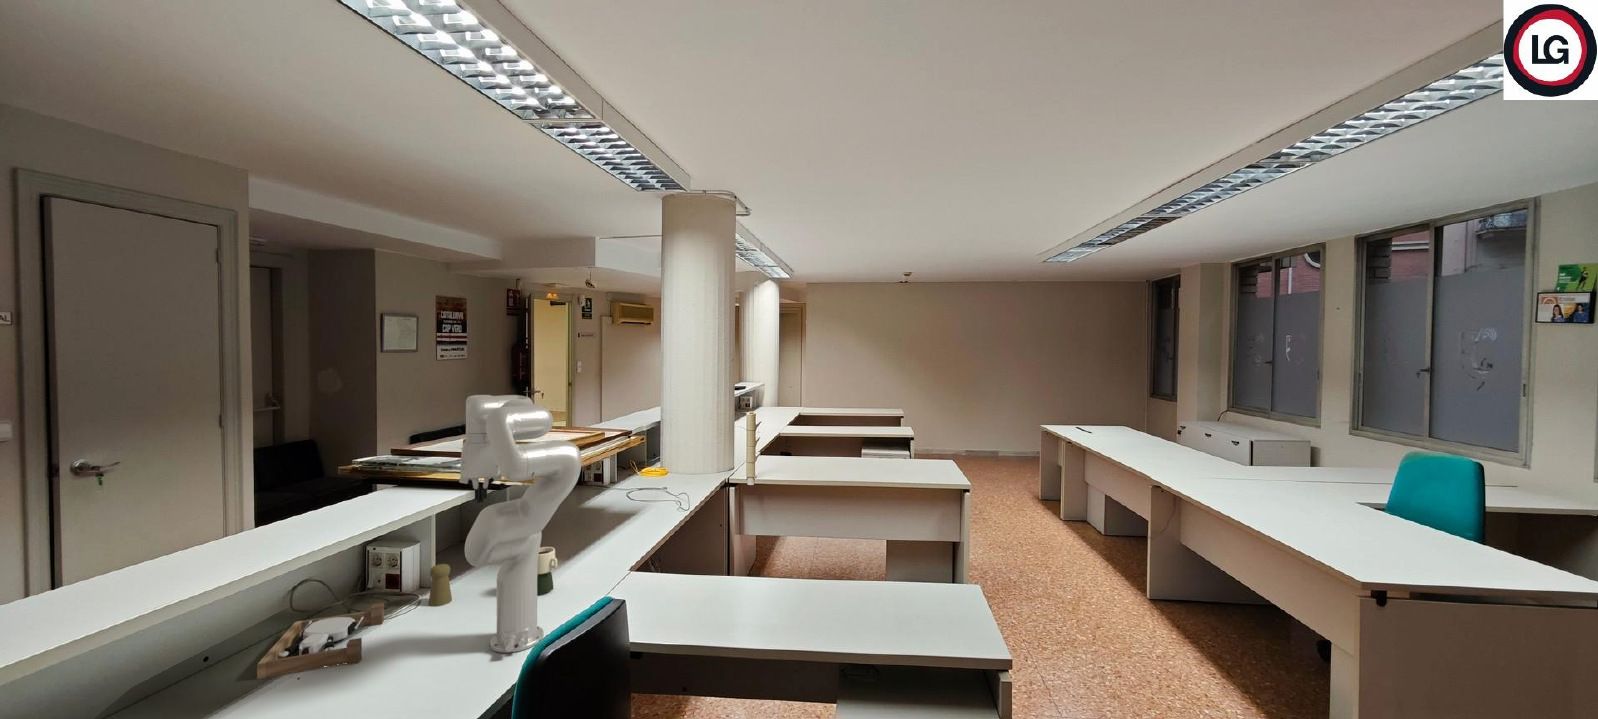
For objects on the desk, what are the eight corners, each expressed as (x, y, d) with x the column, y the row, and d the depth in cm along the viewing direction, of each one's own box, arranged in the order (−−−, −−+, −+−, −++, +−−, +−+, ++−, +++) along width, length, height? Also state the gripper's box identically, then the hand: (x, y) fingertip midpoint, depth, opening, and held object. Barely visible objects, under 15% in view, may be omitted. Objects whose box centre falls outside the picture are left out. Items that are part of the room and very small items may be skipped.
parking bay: (358, 662, 137) (358, 642, 137) (255, 680, 129) (255, 659, 129) (383, 620, 158) (383, 602, 158) (296, 633, 151) (296, 614, 151)
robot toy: (333, 662, 139) (365, 628, 153) (332, 645, 138) (364, 612, 153) (274, 668, 136) (312, 633, 151) (273, 650, 136) (311, 617, 150)
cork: (426, 601, 171) (426, 564, 170) (450, 595, 174) (450, 560, 174) (429, 608, 166) (429, 570, 166) (453, 602, 170) (453, 566, 170)
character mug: (564, 589, 180) (565, 548, 179) (548, 598, 173) (548, 556, 173) (537, 584, 183) (537, 544, 183) (520, 593, 176) (520, 552, 176)
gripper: (510, 434, 170) (510, 496, 170) (452, 437, 163) (452, 501, 164) (509, 438, 163) (509, 502, 163) (448, 441, 156) (448, 507, 157)
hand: (481, 501), depth 163 cm, fingers closed
